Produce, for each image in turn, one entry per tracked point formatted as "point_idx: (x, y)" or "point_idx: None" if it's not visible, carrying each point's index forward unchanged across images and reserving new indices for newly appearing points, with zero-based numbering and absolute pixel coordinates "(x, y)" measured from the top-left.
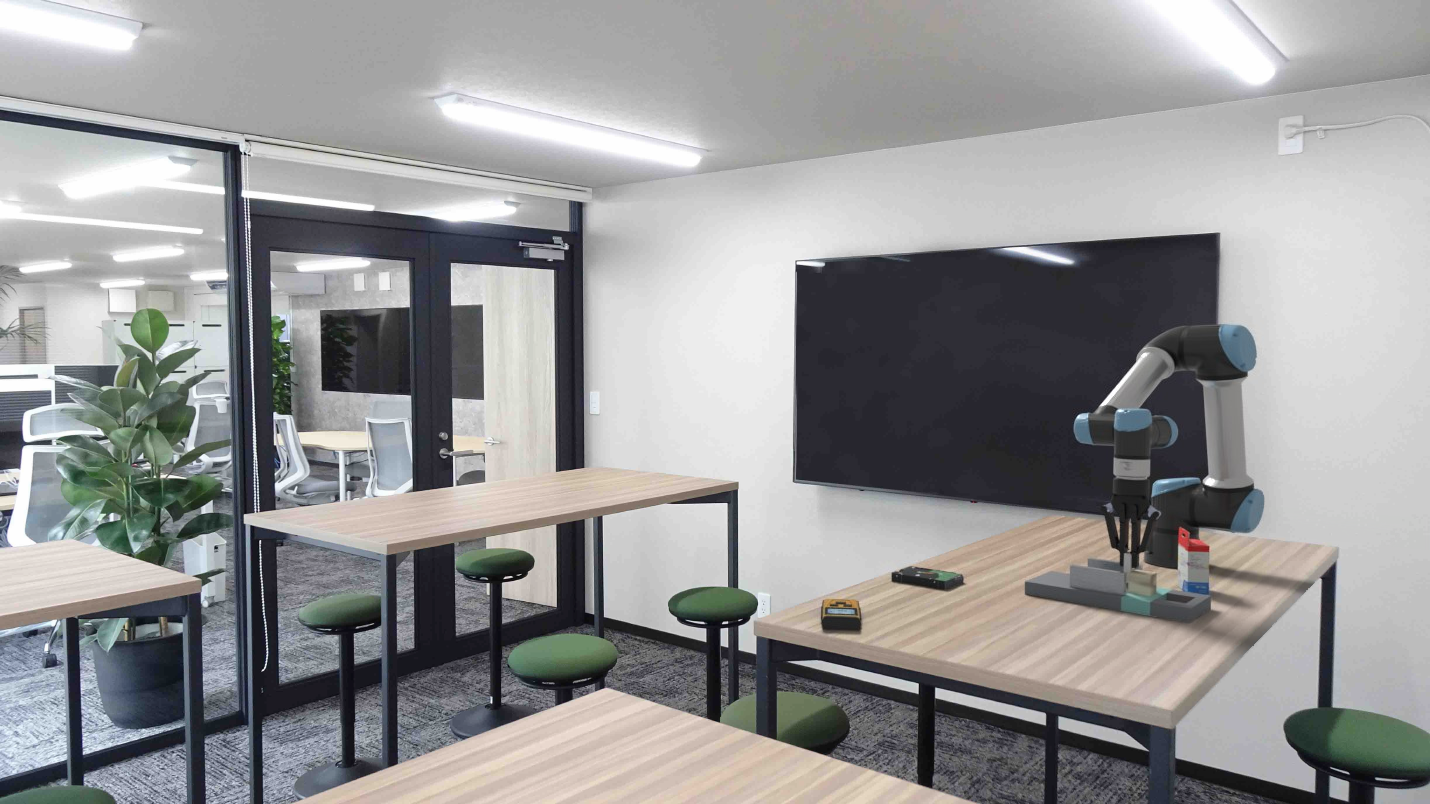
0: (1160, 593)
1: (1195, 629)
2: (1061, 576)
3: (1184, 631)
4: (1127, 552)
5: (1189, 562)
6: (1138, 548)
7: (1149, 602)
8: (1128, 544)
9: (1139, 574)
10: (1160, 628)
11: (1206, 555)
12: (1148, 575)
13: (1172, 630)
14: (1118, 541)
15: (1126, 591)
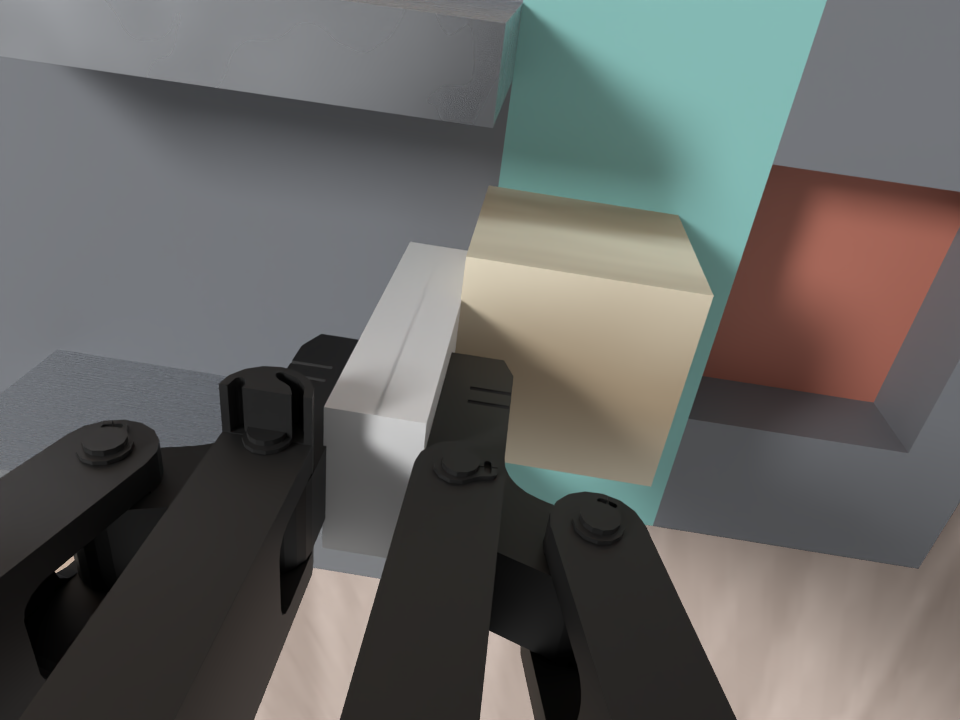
0: (715, 226)
1: (891, 599)
2: None
3: (828, 647)
4: (334, 467)
5: None
6: (500, 622)
7: (648, 523)
8: (285, 494)
9: (548, 467)
10: (711, 646)
11: None
12: (636, 470)
13: (769, 653)
14: (102, 526)
15: None
